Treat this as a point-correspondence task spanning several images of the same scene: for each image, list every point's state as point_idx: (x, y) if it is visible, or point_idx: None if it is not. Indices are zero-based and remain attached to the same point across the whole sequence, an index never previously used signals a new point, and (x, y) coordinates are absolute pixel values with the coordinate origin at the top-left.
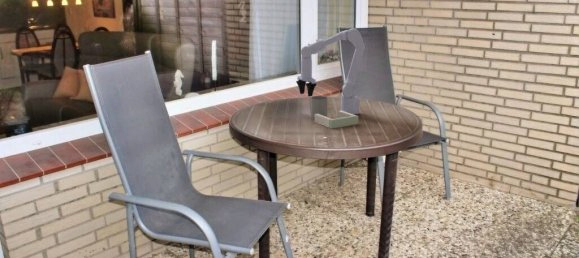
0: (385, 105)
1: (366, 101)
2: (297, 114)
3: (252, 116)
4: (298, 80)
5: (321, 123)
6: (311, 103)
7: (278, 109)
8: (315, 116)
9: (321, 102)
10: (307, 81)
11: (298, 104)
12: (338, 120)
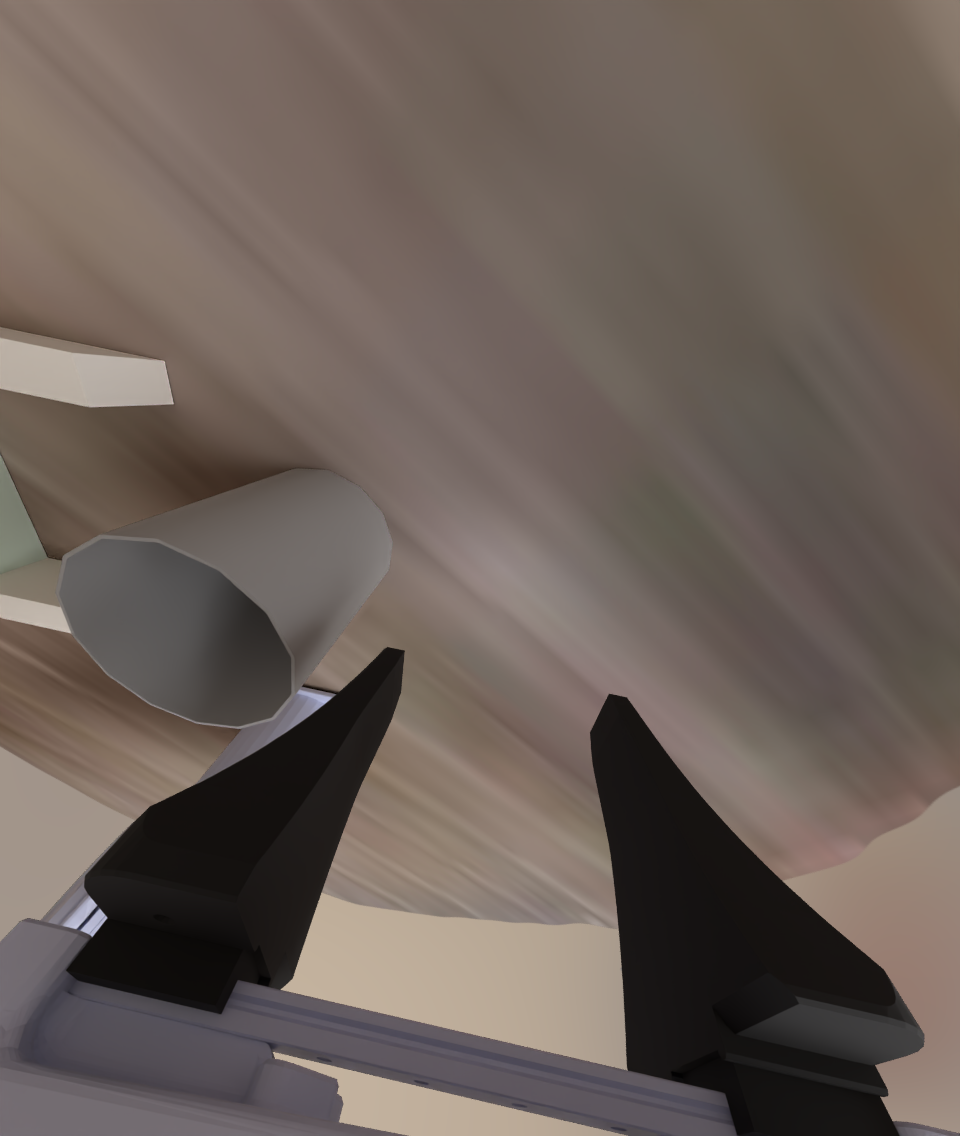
0: (354, 888)
1: (466, 905)
2: (507, 456)
3: None
4: (868, 1076)
5: (35, 336)
6: (243, 517)
7: (838, 458)
8: (81, 350)
9: (107, 570)
10: (381, 1032)
11: (755, 714)
12: None
